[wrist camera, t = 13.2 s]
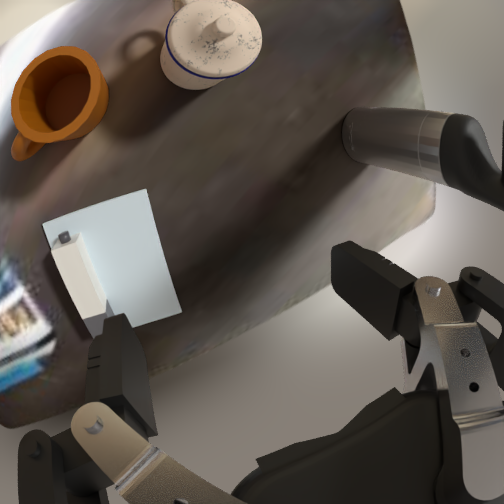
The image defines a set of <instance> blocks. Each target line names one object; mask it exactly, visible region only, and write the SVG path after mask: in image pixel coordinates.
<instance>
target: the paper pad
mask: <svg viewBox="0 0 504 504" xmlns="http://www.w3.org/2000/svg"><path fill="white" fill-rule="evenodd" d="M42 225H43V228H44V231H45V233H46V236H47V239H48V242H49V244H50V247H51V249H52V248H53V247H54V245H55V244H56V242H57V240H59V237H58V235H59V234H60V233H62V232H64V231H68V232H69V234H70V236H71V235H74V234H77V233H80V232H81V235H82V238H83V240H84V243H85V246H86V249H87V251H88V254H89V257H90V259H91V262H92V264H93V267H94V269H95V272H96V274H97V277H98V279H99V282H100V284H101V286H102V289H103V291H104V293H105V295H106V298H107V300H108V302H109V304H110V306H111V308H112V311H113V313H114V315H118V314H121V313H124V314H125V315H126V316H127V318H128V320H129V322H130V324H131V326H132V328H133V327H136V326H140V325H143V324H146V323H149V322H153V321H156V320H159V319H162V318H166V317H169V316H172V315H175V314H178V313H181V312H182V310H181V307H180V304H179V302H178V299H177V296H176V293H175V289H174V286H173V283H172V280H171V277H170V274H169V271H168V267H167V264H166V261H165V257H164V254H163V251H162V247H161V244H160V240H159V236H158V233H157V229H156V226H155V222H154V218H153V214H152V210H151V206H150V202H149V198H148V194H147V190H146V189H142V190H139V191H136V192H132V193H129V194H126V195H122V196H119V197H116V198H113V199H110V200H107V201H104V202H101V203H98V204H95V205H92V206H89V207H86V208H83V209H80V210H77V211H75V212H72V213H69V214H66V215H64V216H61V217H58V218H56V219H53V220H51V221H48V222H45V223H43V224H42Z"/></svg>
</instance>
